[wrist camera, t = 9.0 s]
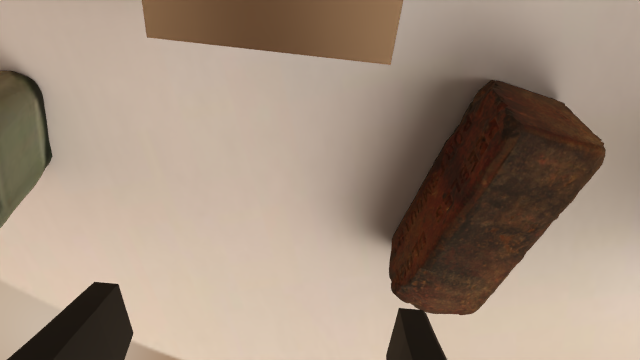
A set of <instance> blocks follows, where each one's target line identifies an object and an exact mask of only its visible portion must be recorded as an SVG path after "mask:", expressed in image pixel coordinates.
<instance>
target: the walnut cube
mask: <svg viewBox="0 0 640 360" xmlns="http://www.w3.org/2000/svg"><path fill="white" fill-rule="evenodd" d="M402 4H403V0H142V5H143V12H144V19H145V27H146V34H147V37H149V38H158V39H167V40H175V41H184V42H193V43H202V44H211V45H220V46H229V47H238V48H246V49H255V50H264V51H273V52H282V53H291V54H300V55H309V56H317V57H326V58H335V59H344V60H353V61H362V62H371V63H380V64H388V65H390V64H391V59H392V54H393V49H394V44H395V39H396V34H397V29H398V24H399V19H400V14H401V9H402Z"/></svg>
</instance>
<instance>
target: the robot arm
mask: <svg viewBox="0 0 640 360" xmlns="http://www.w3.org/2000/svg"><path fill="white" fill-rule="evenodd" d="M132 336H133V330H132V327H131V324H130V320H129V317H128V314H127V311H126V308H125V304H124V301H123V298H122V295H121V291H120V288H119V285H118V284H112V283H100V282H94V283H93V284H92V285H91V286H89V287H88V288H87V289H86V290H85V291H84V292H83V293H82V294H80V295H79V296H78V297H77V298H76V299H75V300H74V301H73V302H72V303H70V304H69V305H68V306H67V307H66V308H65V309H64V310H63V311H62V312H61V313H60V314H58V315H57V316H56V317H55V318H54V319H53V320H52V321H51V322H50V323H48V324H47V325H46V326H45V327H44V328H43V329H42V330H41V331H39V332H38V333H37V334H36V335H35V336H34V337H33V338H32V339H30V340H29V341H28V342H27V343H26V344H25V345H23V346H22V347H21V348H20V349H19V350H18V351H17V352H15V353H14V354H13V355H12V356H11V357H10V358H8V359H7V360H124V359H125V356H126V353H127V350H128V347H129V344H130V342H131V339H132ZM386 359H387V360H447V358H446V356H445V354H444V352H443V350H442V348H441V346H440V344H439V342H438V340H437V337H436V335H435V333H434V331H433V329H432V326H431V324H430V322H429V319H428V317H427V314H426V313H425V312H424V311H423V310H415V309H403V308H399V310H398V314H397V317H396V321H395V325H394V329H393V332H392V336H391V340H390V343H389V347H388V351H387V355H386Z"/></svg>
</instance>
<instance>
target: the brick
mask: <svg viewBox="0 0 640 360" xmlns="http://www.w3.org/2000/svg"><path fill="white" fill-rule="evenodd" d="M603 145H604V143H603V142H601V139H600V138H599V137H598V136H596V135H595V134H593V132H592V131H591V130H590V129H589V128H588V127H587V126H586V125H585V124H584V123H582V122H581V121H580V120H579V118H578V117H577V116H575V115H574V114H573V112H572V111H571V110H570V109H569V108H568V107H567V106H565V104H564V103H562V102H560V101H557V100H555V99H552V98H548V97H545V96H542V95H539V94H536V93H533V92H530V91H528V90H525V89H522V88H519V87H516V86H513V85H510V84H507V83H504V82H500V81H495V80H491V81H490V82H489V83H488V84H487V85H485V86H484V87H483V88H481V89H480V90H479V92H478V93H477V94H476V96H475V97H474V100H473V102H472V103H471V104H470V106H469V108H468V110H467V111H466V113H465V115H464V117H463V119H462V122H461V124H460V125H459V126H458V127H457V129H456V130H455V132H454V133H453V135H452V136H451V137H450V138H449V139H448V140H447V141H446V143H445V145H444V147H443V149H442V150H441V152H440V154H439V156H438V157H437V159H436V161H435V163H434V165H433V166H432V168H431V169H430V171H429V173H428V175H427V177H426V179H425V181H424V182H423V184H422V186H421V188H420V189H419V191H418V193H417V195H416V197H415V199H414V201H413V202H412V204H411V206H410V207H409V209H408V211H407V212H406V214H405V216H404V218H403V220H402V222H401V223H400V225H399V227H398V229H397V230H396V232H395V234H394V236H393V238H392V249H391V256H390V265H389V277H390V279H391V281H392V283H391V290H392V292H393V293H394V294H395V295H396V296H397V297H398V298H399V299H400V300H402V301H404V302H405V303H410V304H412V305H414V306H415V307H416V308H418V309H420V310H423V311H424V312H428V313H433V314H459V315H466V314H472V313H474V312H476V311H477V310H478V309H479V308H480V307H481V306H482V305H483V304H484V303H485V302H486V300H487V299H488V298H489V296H490V295H491V294H493V293H494V292H495V290H496V289H497V287H498V286H499V285H500V284H501V283H502V282H503V281H504V279H505V278H506V277H507V276H508V274H509V273H510V272H511V270H512V269H513V268H514V267H515V266H516V265H517V264H518V263H519V262H520V261H521V260H522V259H523V257H524V255H525V254H526V252H527V251H528V250H529V249H530V248H531V247H532V246H533V245H534V243H535V242H536V241H537V240H538V239H539V238H540V237H541V236H542V234H543V233H544V232H545V231H546V229H547V228H548V227H549V226H550V224H551V223H552V222H553V221H554V220H556V219H557V218H558V216H559V214H560V213H561V212H563V211H564V209H565V208H566V207H567V206H568V205H569V204H570V203H571V202H572V201H573V200H574V198H575V197H576V195H577V194H578V192H579V191H580V190H581V189H582V188H583V187H584V186H585V184H586V183H587V182H588V181H589V180H590V179H591V177H592V176H593V175H594V174H595V172H596V171H597V170H598V169H599V168H600V166H601V165H602V163H603V160H604V157H605V150H606V149H605V148H604V146H603Z"/></svg>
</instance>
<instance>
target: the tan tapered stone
mask: <svg viewBox="0 0 640 360" xmlns="http://www.w3.org/2000/svg"><path fill="white" fill-rule="evenodd" d="M51 158H52V153H51V148H50V143H49V137H48V128H47V121H46V114H45V109H44V101H43V96H42V93H41V91H40V89H39V87H38V85H37V84H36V83H35V82H34V81H33V80H32V79H30V78H28V77H26V76H24V75H22V74H18V73H16V72H13V71H0V228H1V227H2V226H3V224H4V223H5V222H6V221H7V219H8V218H9V216H10V215H11V214H12V212H13V211H14V210H15V209H16V207H17V206H18V205H19V204H20V202H21V201H22V200H23V199H24V198H25V197H26V196H27V194H28V193H29V192H30V191H31V190H32V189H33V187H34V186H35V185H36V183H37V182H38V180H39V178H40V177H41V175H42V173H43V171H44V170H45V168H46V167H47V166H48V164H49V163H50V161H51Z"/></svg>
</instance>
